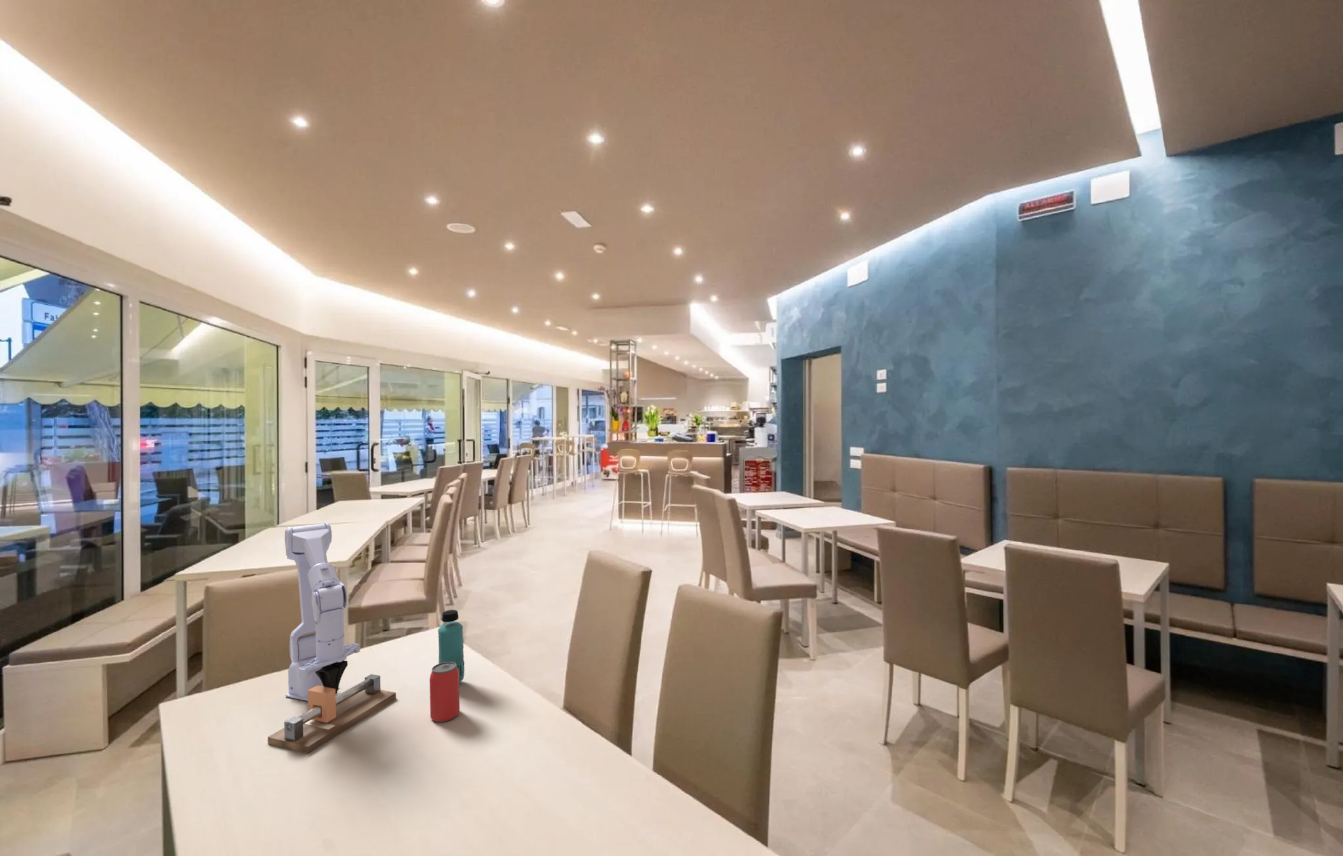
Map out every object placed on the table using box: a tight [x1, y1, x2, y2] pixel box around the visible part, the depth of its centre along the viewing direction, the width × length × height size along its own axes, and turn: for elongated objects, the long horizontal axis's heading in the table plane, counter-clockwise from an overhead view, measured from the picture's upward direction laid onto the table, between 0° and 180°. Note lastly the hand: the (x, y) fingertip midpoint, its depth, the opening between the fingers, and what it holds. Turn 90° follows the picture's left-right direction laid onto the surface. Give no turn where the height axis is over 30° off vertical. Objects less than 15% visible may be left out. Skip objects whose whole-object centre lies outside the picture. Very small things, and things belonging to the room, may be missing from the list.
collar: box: [307, 685, 337, 723], centre depth 127 cm, size 6×2×7 cm, turn 72°
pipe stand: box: [283, 673, 382, 742], centre depth 131 cm, size 3×23×4 cm, turn 162°
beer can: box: [429, 662, 461, 723], centre depth 132 cm, size 7×7×12 cm
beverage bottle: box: [437, 609, 466, 683], centre depth 147 cm, size 6×7×20 cm
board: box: [267, 689, 397, 754], centre depth 131 cm, size 12×24×2 cm, turn 162°
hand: (331, 694), depth 129 cm, fingers closed
